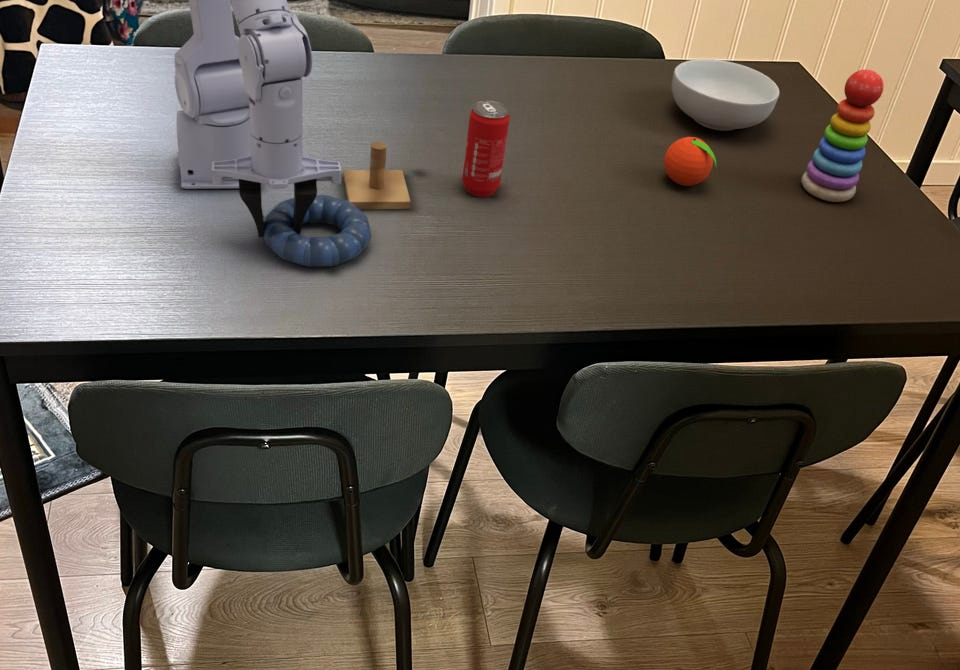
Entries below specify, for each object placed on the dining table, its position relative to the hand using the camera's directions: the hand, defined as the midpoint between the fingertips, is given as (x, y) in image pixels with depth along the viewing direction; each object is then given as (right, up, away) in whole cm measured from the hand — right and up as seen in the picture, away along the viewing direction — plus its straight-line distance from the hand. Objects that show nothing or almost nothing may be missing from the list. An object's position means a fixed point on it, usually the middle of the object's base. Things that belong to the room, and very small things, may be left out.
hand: (278, 232), depth 116 cm
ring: (+5, 0, +1) cm, 5 cm away
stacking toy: (+76, +9, +27) cm, 81 cm away
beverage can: (+24, +8, +16) cm, 30 cm away
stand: (+10, +7, +12) cm, 17 cm away
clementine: (+54, +9, +24) cm, 60 cm away
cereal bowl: (+63, +23, +42) cm, 79 cm away
